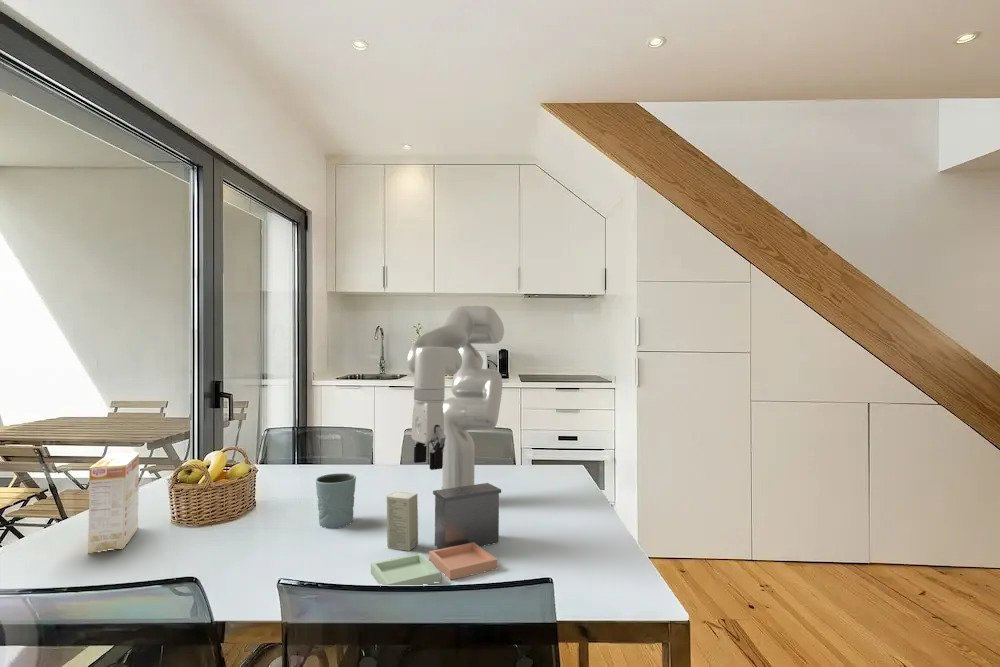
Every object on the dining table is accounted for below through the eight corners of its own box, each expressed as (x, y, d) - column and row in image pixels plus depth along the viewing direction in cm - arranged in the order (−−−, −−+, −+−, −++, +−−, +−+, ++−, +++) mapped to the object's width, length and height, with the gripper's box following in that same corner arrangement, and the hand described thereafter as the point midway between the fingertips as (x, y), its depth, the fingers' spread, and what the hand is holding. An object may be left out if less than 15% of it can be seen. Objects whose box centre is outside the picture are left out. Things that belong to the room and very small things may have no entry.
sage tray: (370, 573, 109) (370, 563, 109) (420, 562, 114) (420, 553, 114) (387, 595, 99) (387, 584, 99) (440, 582, 105) (440, 572, 105)
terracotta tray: (429, 560, 115) (429, 551, 115) (473, 550, 121) (473, 542, 121) (449, 580, 106) (450, 570, 106) (497, 568, 111) (497, 559, 111)
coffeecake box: (105, 532, 131) (107, 454, 132) (139, 528, 134) (141, 451, 134) (85, 554, 117) (87, 467, 118) (123, 549, 120) (125, 464, 121)
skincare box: (418, 545, 124) (419, 493, 125) (409, 551, 120) (409, 498, 120) (395, 541, 126) (395, 490, 127) (385, 548, 122) (385, 495, 122)
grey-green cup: (363, 520, 141) (363, 475, 142) (336, 532, 132) (337, 484, 132) (334, 514, 146) (334, 471, 146) (306, 526, 137) (307, 479, 137)
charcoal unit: (432, 545, 124) (433, 490, 124) (487, 534, 132) (487, 482, 132) (444, 555, 118) (444, 498, 119) (500, 543, 126) (501, 489, 126)
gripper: (402, 394, 136) (400, 461, 135) (429, 398, 121) (427, 473, 120) (429, 393, 140) (427, 458, 139) (458, 397, 125) (457, 470, 124)
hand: (427, 465), depth 130 cm, fingers open, 9 cm apart
